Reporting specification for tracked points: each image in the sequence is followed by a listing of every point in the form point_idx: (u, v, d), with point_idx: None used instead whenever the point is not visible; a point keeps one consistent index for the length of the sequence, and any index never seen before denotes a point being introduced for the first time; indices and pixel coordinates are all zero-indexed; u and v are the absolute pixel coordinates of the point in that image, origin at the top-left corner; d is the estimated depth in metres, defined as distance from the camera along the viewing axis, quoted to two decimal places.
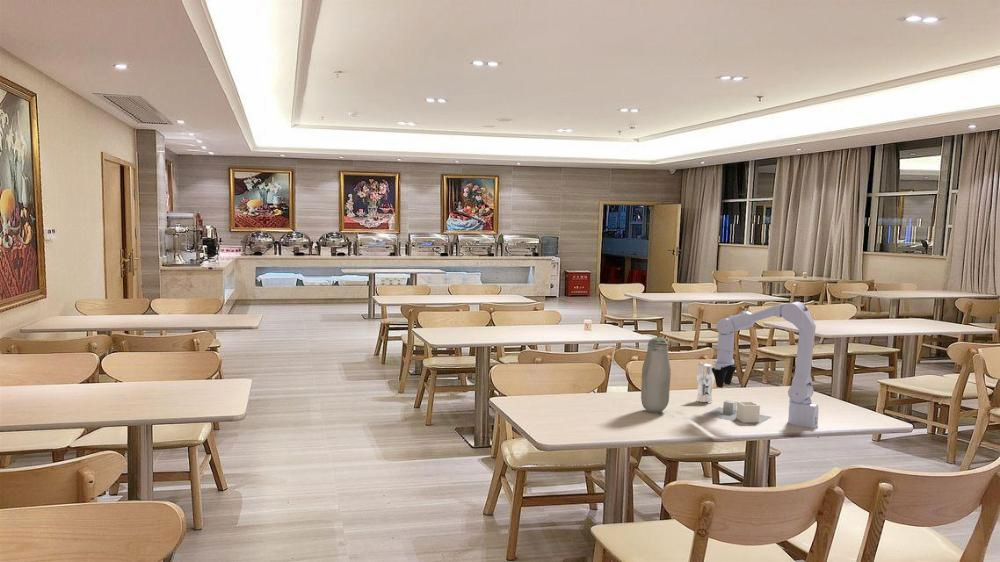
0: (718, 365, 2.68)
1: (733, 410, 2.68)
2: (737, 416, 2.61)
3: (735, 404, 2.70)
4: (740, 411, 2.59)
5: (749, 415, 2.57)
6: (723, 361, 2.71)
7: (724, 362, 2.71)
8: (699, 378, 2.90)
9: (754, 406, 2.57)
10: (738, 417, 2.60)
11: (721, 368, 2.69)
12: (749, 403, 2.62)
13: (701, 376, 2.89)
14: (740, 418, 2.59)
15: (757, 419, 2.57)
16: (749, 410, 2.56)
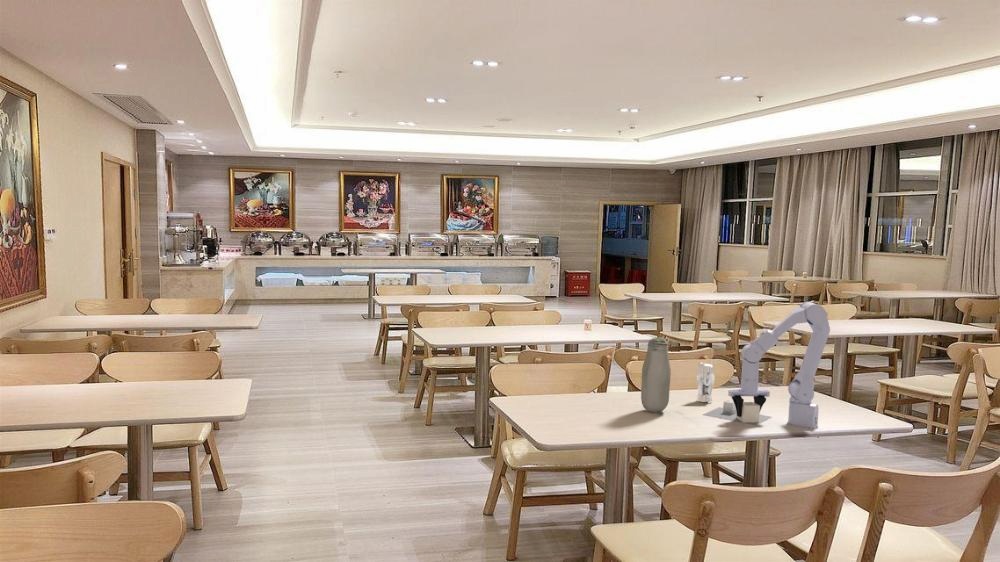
0: (730, 392, 2.58)
1: (733, 410, 2.68)
2: (737, 416, 2.61)
3: None
4: None
5: (749, 415, 2.57)
6: (742, 389, 2.58)
7: (743, 390, 2.58)
8: (699, 378, 2.90)
9: (754, 406, 2.57)
10: (738, 417, 2.60)
11: (736, 396, 2.58)
12: (749, 403, 2.62)
13: (701, 376, 2.89)
14: (740, 418, 2.59)
15: (757, 419, 2.57)
16: (749, 410, 2.56)
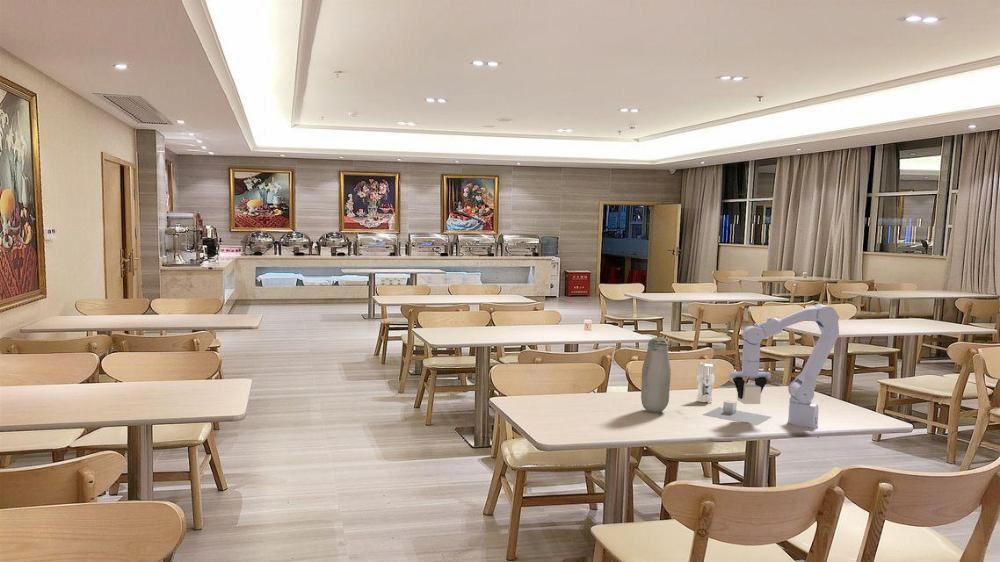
0: (731, 373, 2.57)
1: (733, 410, 2.68)
2: (738, 398, 2.61)
3: (735, 404, 2.70)
4: None
5: (750, 396, 2.56)
6: (743, 371, 2.58)
7: (744, 372, 2.57)
8: (699, 378, 2.90)
9: (755, 388, 2.56)
10: (739, 399, 2.60)
11: (737, 377, 2.57)
12: (750, 385, 2.61)
13: (701, 376, 2.89)
14: (741, 400, 2.58)
15: (758, 401, 2.57)
16: (750, 392, 2.56)
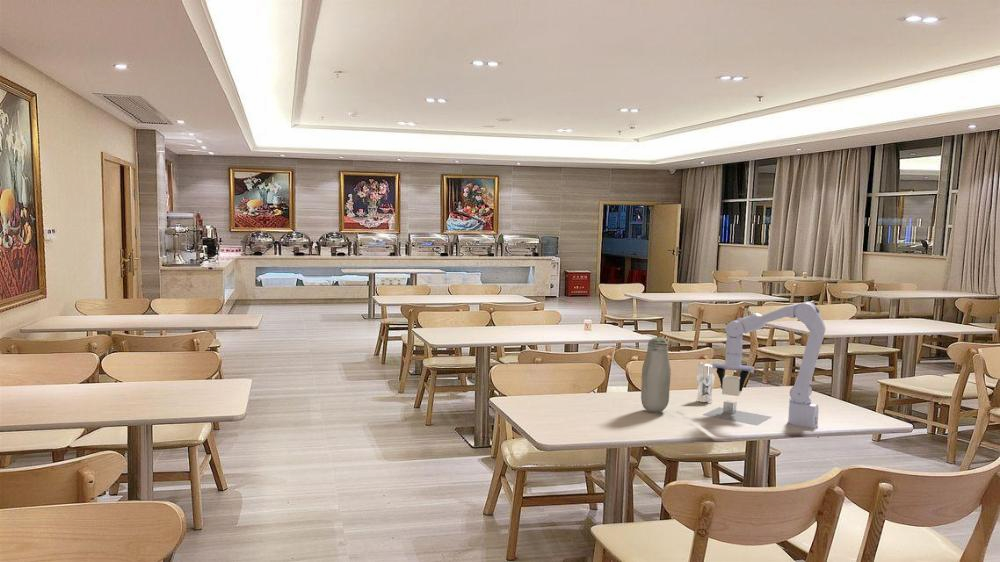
0: None
1: (733, 410, 2.68)
2: None
3: (735, 404, 2.70)
4: None
5: (728, 387, 2.67)
6: (725, 363, 2.69)
7: (725, 364, 2.69)
8: (699, 378, 2.90)
9: (733, 380, 2.66)
10: None
11: (718, 368, 2.70)
12: (737, 378, 2.70)
13: (701, 376, 2.89)
14: None
15: (736, 393, 2.65)
16: (728, 383, 2.66)
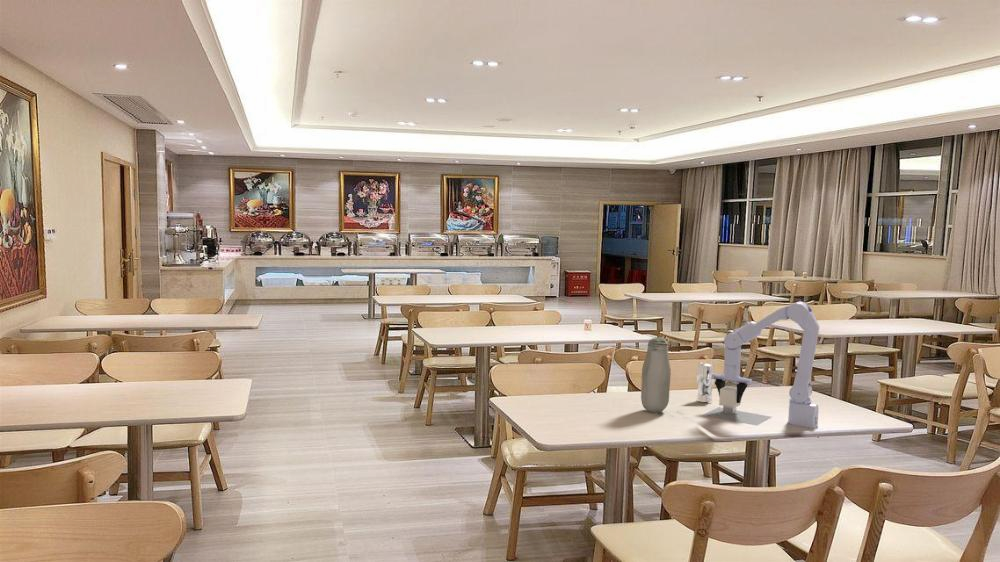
0: None
1: (733, 410, 2.68)
2: None
3: None
4: None
5: (725, 399, 2.68)
6: (723, 374, 2.71)
7: (723, 375, 2.70)
8: (699, 378, 2.90)
9: (730, 391, 2.67)
10: None
11: (717, 379, 2.72)
12: None
13: (701, 376, 2.89)
14: None
15: (733, 404, 2.66)
16: (725, 394, 2.68)
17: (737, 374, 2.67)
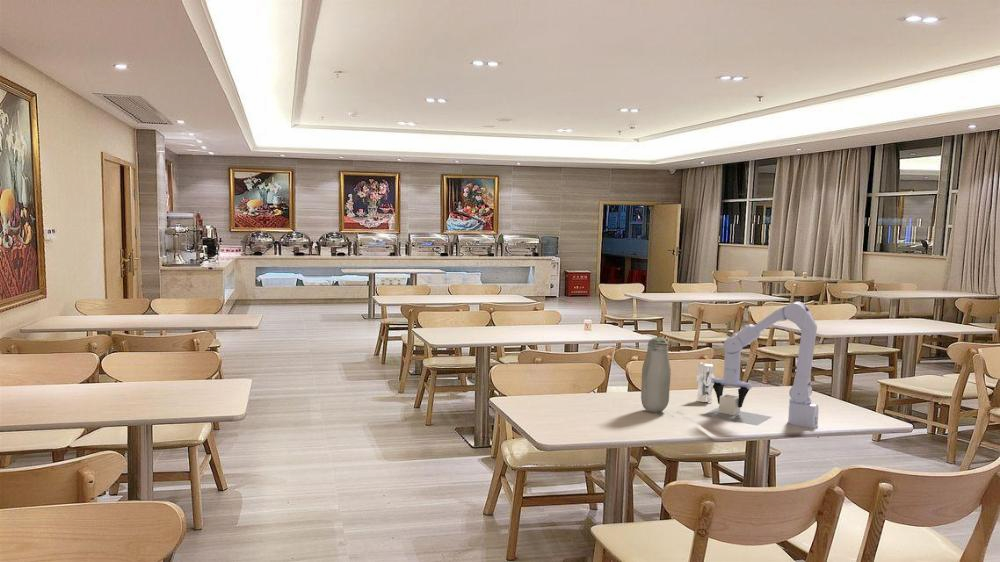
0: None
1: None
2: None
3: None
4: None
5: (724, 406, 2.68)
6: None
7: (723, 379, 2.70)
8: (699, 378, 2.90)
9: (729, 399, 2.67)
10: None
11: (716, 383, 2.72)
12: (736, 397, 2.71)
13: (701, 376, 2.89)
14: None
15: (732, 412, 2.67)
16: (724, 402, 2.68)
17: (737, 378, 2.67)
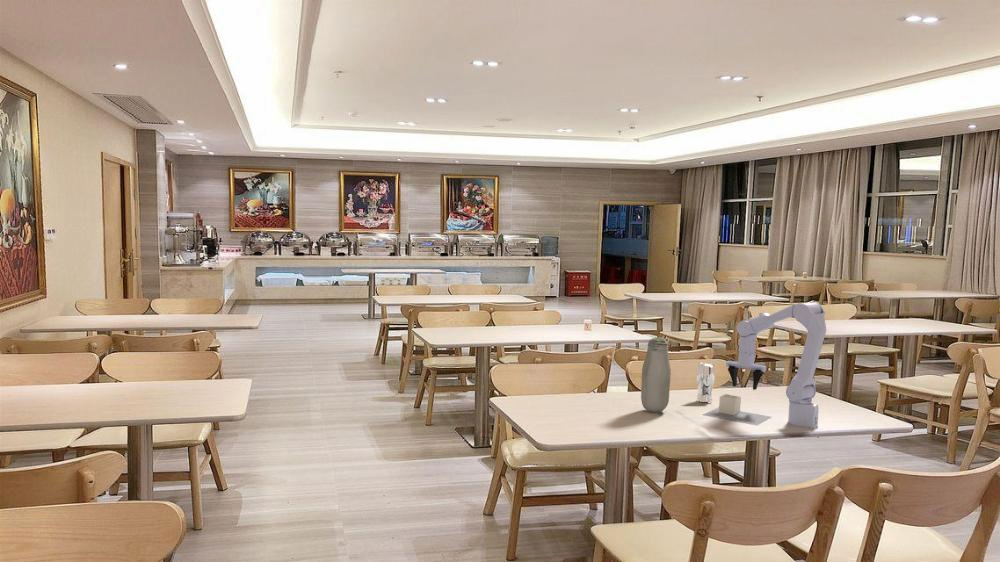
0: None
1: None
2: None
3: None
4: None
5: (724, 406, 2.68)
6: (738, 361, 2.76)
7: (737, 362, 2.76)
8: (699, 378, 2.90)
9: (729, 399, 2.67)
10: None
11: (731, 366, 2.78)
12: (736, 397, 2.71)
13: (701, 376, 2.89)
14: None
15: (732, 412, 2.67)
16: (724, 402, 2.68)
17: (751, 361, 2.72)
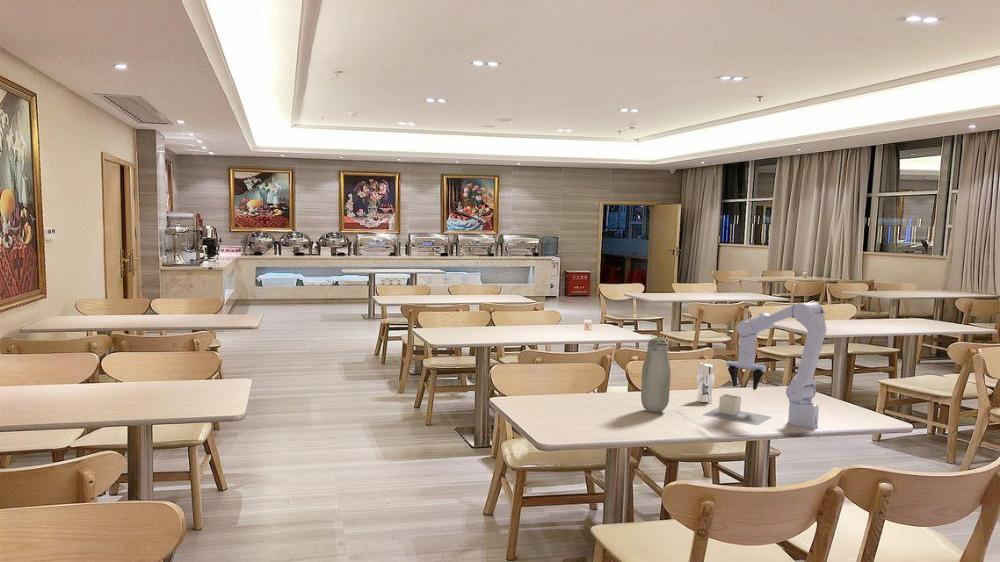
0: None
1: None
2: None
3: None
4: None
5: (724, 406, 2.68)
6: (738, 361, 2.76)
7: (738, 362, 2.76)
8: (699, 378, 2.90)
9: (729, 399, 2.67)
10: None
11: (731, 366, 2.78)
12: (736, 397, 2.71)
13: (701, 376, 2.89)
14: None
15: (732, 412, 2.67)
16: (724, 402, 2.68)
17: (752, 361, 2.72)
